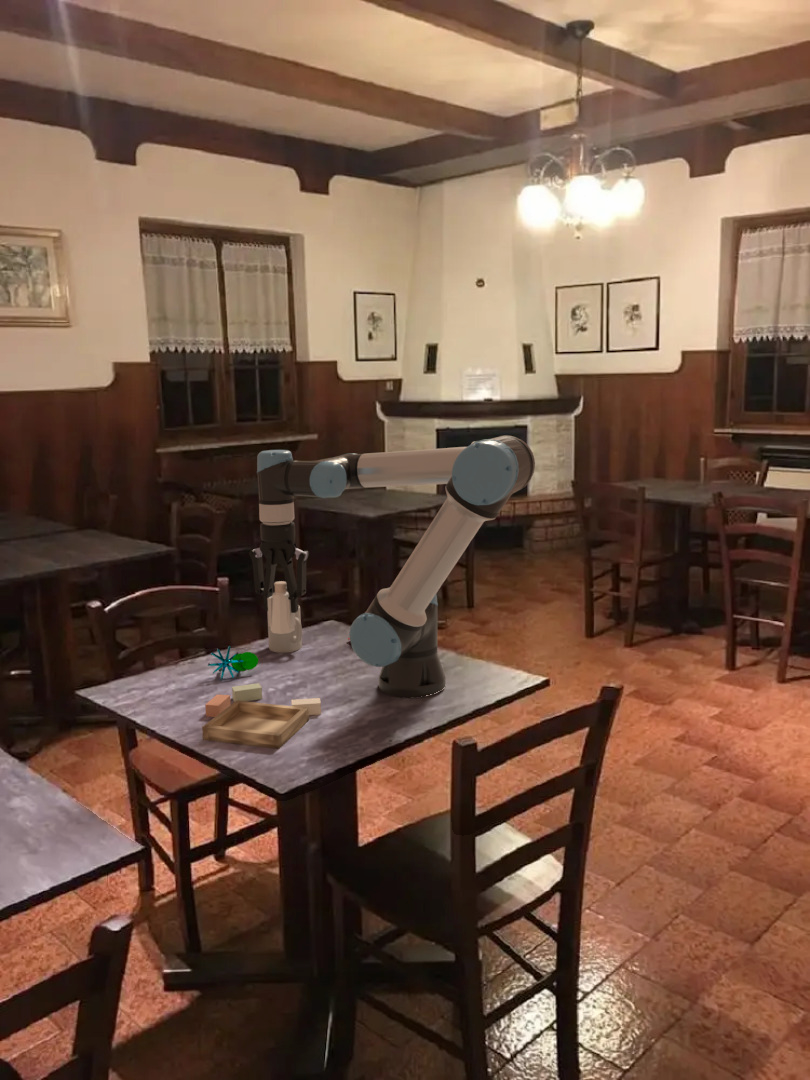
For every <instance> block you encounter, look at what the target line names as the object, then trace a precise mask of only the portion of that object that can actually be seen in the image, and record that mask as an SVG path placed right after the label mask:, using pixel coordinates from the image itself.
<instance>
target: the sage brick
mask: <svg viewBox="0 0 810 1080" xmlns="http://www.w3.org/2000/svg"><path fill="white" fill-rule="evenodd" d="M262 688H263V687H262V686H261V684H260V683H259V682H256V683H250V684H244V685H237V686H236V685H235V686H232V687H231V693H232V694H231V695H232V696H231V697H232V700H233V703H234V702H235V701H246V702H251V701H257V700H262V699H263V689H262Z"/></svg>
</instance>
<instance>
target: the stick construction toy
mask: <svg viewBox="0 0 810 1080" xmlns="http://www.w3.org/2000/svg"><path fill="white" fill-rule="evenodd" d="M216 650H217V653H218V654H216V653H214V652H211V653H210V654H209V655H210V656H214V657H215V658H216V659H218V660H219V661H220V662H215V663H210V662H209V663H208V664H207V667H217V668H215V669H214V670H213V671H212V675H214V674H215V673H216V672H219V673H220V674H221V675H220V681H223V680H224V676H225V671H226V668H227V670H228V673H230V676H231V679H234V677H235V675H234V673H233V672H236V673H237V674H240V673H241V672H242V673H243V672H246V671H251V670H253V669H255V668H256V667H257V665H258V664H259V657H258V656H257V655H256V654H255V653H253V652H251V651H244V652H242V653H239V652H236V653H235V654H233V655H232V656H231V657H230V651H231V646H230V645H229V646H228V647H227V651H226V655H225V658H224V656H223V654H222V652H221V651H220V647H218V648H217V649H216Z"/></svg>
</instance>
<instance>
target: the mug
mask: <svg viewBox="0 0 810 1080" xmlns="http://www.w3.org/2000/svg"><path fill="white" fill-rule="evenodd" d="M266 612H267V613H266V614H267V617H268V611H266ZM301 619H302V617H301V606H300V605H299V604H298V611H297V612H296V613H295V623H296V625H295V626H294V628H295V630H294V631H292V632H290V633H285V634H276V633H272V631H271V630H270V629H271V627H269V620H268V619H267V633H268V649H269V651H271V652H272V653H273V652H274V653H277V654H278V653H280V654H282V653H283V654H287V653H293V652H296V651H300V650H301V649H302V648H303V644H302V643H303V642H302V640H303V639H302V637H303V628H302V621H301Z"/></svg>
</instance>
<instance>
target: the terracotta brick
mask: <svg viewBox="0 0 810 1080" xmlns="http://www.w3.org/2000/svg"><path fill="white" fill-rule="evenodd" d="M231 704H232V703H231V695H230V694H216V695H215V696H213V697H212V698H211V699H210V700H209V701H208V702H206V703H205V705H204V706H205V717H209V718H210V717H211V718H214V717H216V716H217V715H218V714H220V713H221V712H222V711H223V710H225V709H226V708H227V707H229V706H230V705H231Z"/></svg>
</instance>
